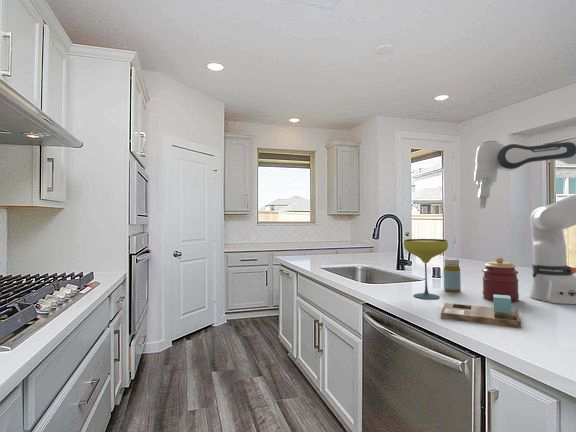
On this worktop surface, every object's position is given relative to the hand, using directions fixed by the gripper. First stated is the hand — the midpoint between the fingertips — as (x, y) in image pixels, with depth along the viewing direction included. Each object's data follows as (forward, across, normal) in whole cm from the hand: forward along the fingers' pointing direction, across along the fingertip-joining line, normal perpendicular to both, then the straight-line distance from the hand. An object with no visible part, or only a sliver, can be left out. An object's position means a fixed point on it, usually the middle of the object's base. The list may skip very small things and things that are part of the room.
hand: (482, 208), depth 152 cm
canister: (+38, -9, -10) cm, 40 cm away
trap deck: (+38, -42, 0) cm, 56 cm away
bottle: (+40, +1, +9) cm, 41 cm away
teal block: (+36, -38, -7) cm, 52 cm away
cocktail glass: (+41, -17, +19) cm, 48 cm away
